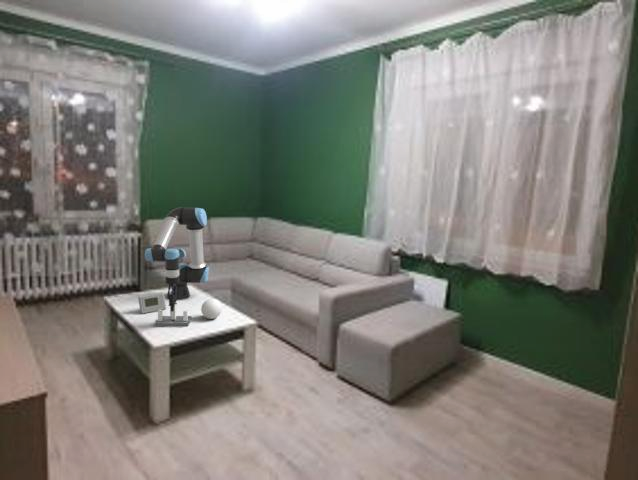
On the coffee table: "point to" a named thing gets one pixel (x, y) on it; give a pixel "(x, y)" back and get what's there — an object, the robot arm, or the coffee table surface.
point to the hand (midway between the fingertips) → (172, 315)
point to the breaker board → (172, 322)
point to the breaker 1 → (160, 315)
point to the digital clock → (152, 302)
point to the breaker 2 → (185, 315)
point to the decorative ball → (211, 308)
